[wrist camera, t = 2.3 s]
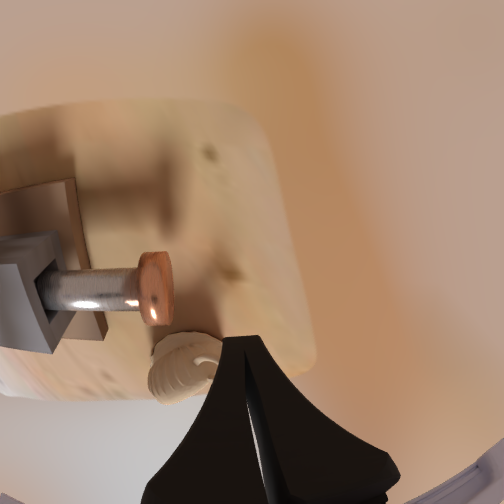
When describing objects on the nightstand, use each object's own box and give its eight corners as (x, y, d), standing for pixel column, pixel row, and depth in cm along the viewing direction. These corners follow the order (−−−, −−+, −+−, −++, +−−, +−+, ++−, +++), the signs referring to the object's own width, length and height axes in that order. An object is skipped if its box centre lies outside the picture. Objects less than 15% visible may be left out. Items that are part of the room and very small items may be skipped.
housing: (17, 323, 19) (-14, 368, 13) (-21, 198, 14) (-73, 225, 8) (108, 328, 20) (85, 388, 14) (74, 177, 15) (18, 203, 10)
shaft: (37, 299, 16) (13, 332, 13) (22, 249, 15) (-10, 277, 11) (176, 299, 18) (169, 340, 14) (168, 240, 16) (156, 272, 12)
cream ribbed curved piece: (137, 353, 22) (125, 402, 17) (214, 306, 21) (215, 357, 16) (169, 379, 23) (165, 427, 19) (245, 339, 22) (254, 389, 17)
